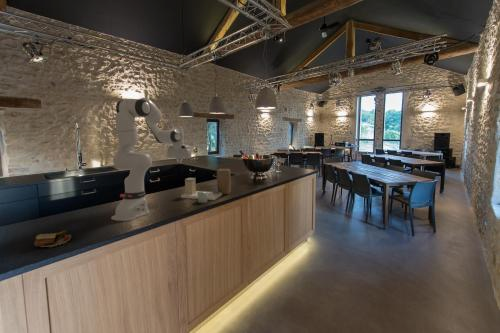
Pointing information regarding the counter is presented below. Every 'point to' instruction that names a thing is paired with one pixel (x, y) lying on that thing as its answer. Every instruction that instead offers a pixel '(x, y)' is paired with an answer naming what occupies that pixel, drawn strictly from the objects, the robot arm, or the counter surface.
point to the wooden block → (224, 180)
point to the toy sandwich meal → (51, 239)
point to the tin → (215, 190)
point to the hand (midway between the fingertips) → (179, 163)
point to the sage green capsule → (202, 196)
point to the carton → (190, 185)
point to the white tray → (195, 196)
